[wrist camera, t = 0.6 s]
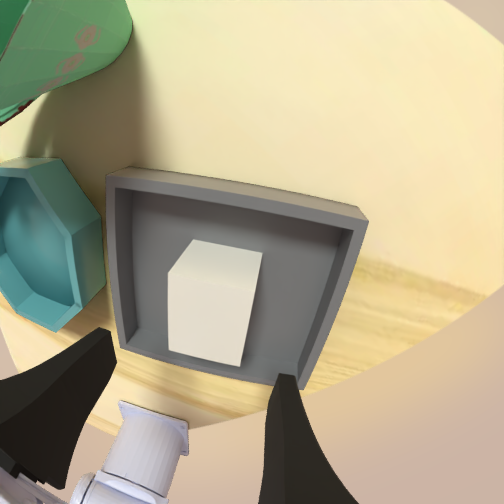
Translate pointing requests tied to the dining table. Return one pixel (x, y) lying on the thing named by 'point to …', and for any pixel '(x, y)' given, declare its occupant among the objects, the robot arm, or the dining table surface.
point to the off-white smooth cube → (211, 301)
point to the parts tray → (239, 236)
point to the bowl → (47, 242)
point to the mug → (55, 45)
